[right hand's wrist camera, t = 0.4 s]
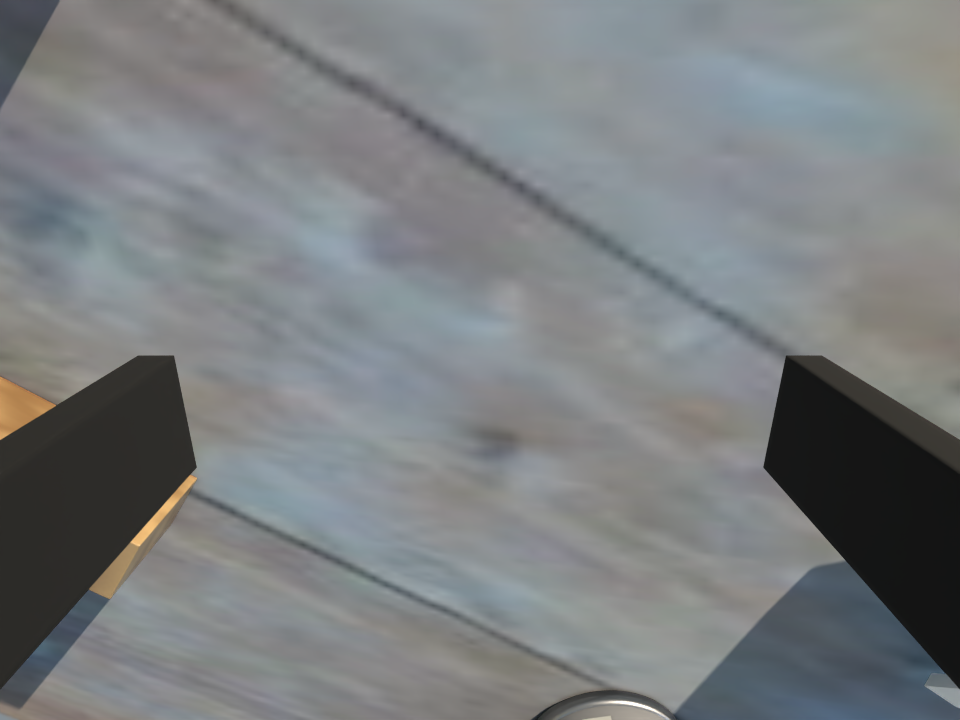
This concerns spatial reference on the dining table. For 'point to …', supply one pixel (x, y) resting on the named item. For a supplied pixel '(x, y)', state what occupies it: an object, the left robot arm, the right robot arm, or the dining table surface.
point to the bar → (13, 407)
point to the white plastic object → (944, 688)
